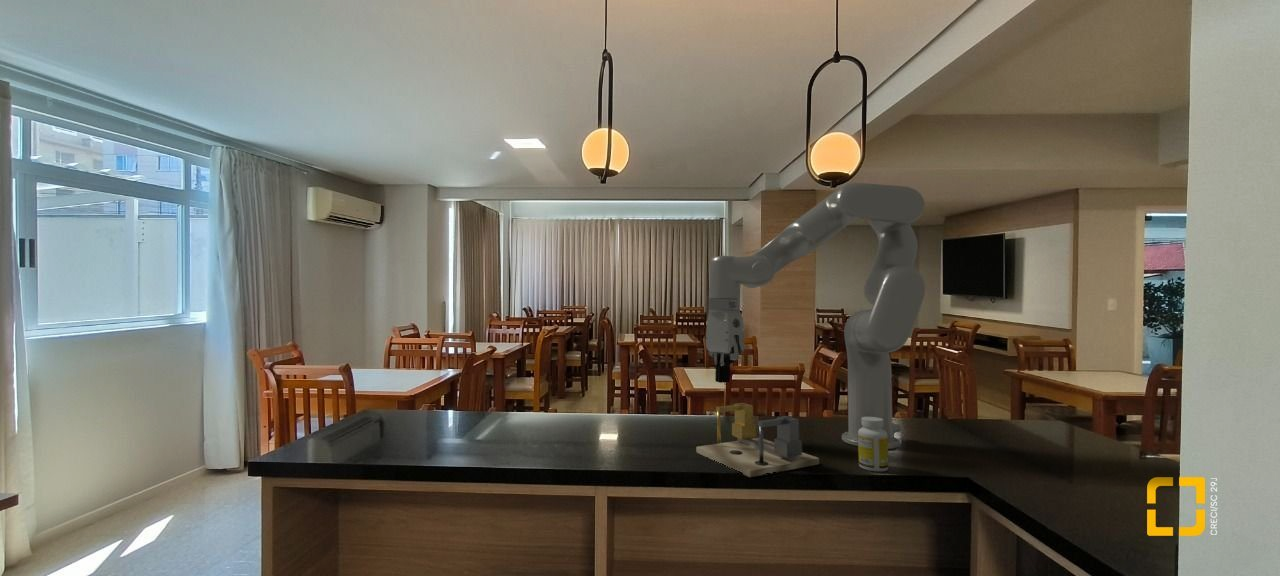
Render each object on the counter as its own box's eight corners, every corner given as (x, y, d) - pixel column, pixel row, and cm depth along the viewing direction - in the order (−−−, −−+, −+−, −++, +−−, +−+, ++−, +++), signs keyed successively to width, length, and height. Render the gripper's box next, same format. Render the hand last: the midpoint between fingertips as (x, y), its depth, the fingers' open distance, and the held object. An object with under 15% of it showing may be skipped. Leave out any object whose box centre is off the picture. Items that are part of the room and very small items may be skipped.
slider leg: (745, 436, 114) (745, 402, 114) (755, 439, 111) (755, 405, 111) (712, 440, 110) (712, 405, 110) (722, 444, 107) (722, 408, 107)
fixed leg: (789, 454, 102) (788, 415, 102) (801, 458, 98) (801, 418, 99) (753, 460, 97) (753, 419, 98) (766, 465, 94) (765, 423, 95)
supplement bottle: (885, 465, 99) (884, 416, 100) (891, 473, 94) (890, 422, 95) (856, 462, 101) (855, 415, 101) (860, 471, 96) (860, 420, 96)
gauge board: (759, 442, 116) (759, 433, 116) (819, 464, 100) (818, 453, 100) (696, 452, 107) (696, 442, 108) (749, 477, 91) (749, 465, 92)
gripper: (756, 307, 114) (755, 386, 113) (718, 306, 128) (716, 377, 127) (730, 306, 111) (729, 387, 110) (694, 306, 124) (692, 378, 123)
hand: (722, 381), depth 118 cm, fingers closed
